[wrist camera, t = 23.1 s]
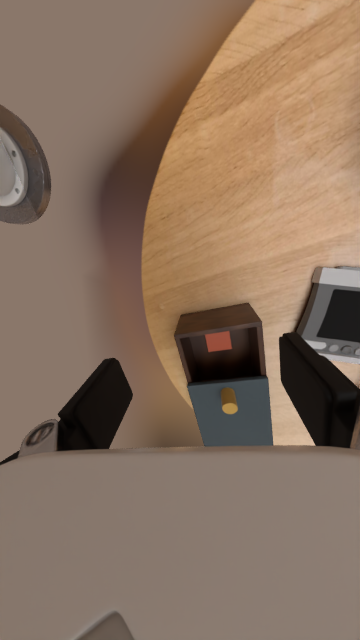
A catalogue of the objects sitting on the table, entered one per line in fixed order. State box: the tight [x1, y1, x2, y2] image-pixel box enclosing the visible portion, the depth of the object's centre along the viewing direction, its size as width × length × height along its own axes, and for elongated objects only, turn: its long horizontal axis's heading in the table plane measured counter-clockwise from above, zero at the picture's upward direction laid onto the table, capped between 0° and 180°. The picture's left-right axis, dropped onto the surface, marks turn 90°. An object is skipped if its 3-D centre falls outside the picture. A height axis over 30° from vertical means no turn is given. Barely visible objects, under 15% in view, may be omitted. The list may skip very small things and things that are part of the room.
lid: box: [187, 376, 273, 447], centre depth 33 cm, size 14×18×4 cm
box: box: [174, 303, 266, 383], centre depth 35 cm, size 14×18×9 cm
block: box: [205, 331, 232, 352], centre depth 35 cm, size 4×4×4 cm
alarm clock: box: [296, 266, 360, 364], centre depth 32 cm, size 17×5×16 cm
